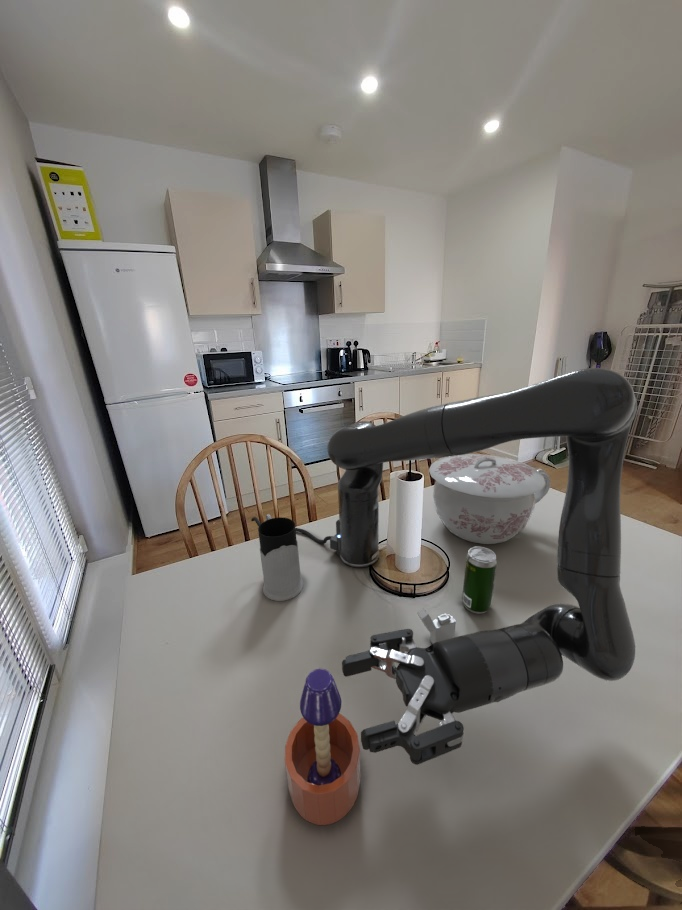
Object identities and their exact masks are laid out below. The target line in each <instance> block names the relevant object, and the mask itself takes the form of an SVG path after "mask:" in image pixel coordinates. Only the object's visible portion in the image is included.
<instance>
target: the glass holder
mask: <svg viewBox="0 0 682 910" xmlns="http://www.w3.org/2000/svg"><path fill="white" fill-rule="evenodd" d="M295 528H296V523H295V521H294V520H292V519H291V518H288V517H272V515H270V513H268V514H266V515H265V520H264V521H263V522H261V524H260V526H258V528H257V532H258V540H259V554H260V562H261V569H262V576H263V577H262V578H263V586H262V592H263V594H264V596H265V597H266V598H267V599H268V600H272V601H277V602H284V601H289V600H291V599H293V598H295V597H297V596H298V595H299V594H300V593H301V592H302V590H303V588H304V579H303V578H302V577H301V575H302V574H301V565H300V556H299V543H298V540H297V532H296V529H295Z"/></svg>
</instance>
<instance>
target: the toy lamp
mask: <svg viewBox="0 0 682 910" xmlns="http://www.w3.org/2000/svg"><path fill="white" fill-rule="evenodd" d="M341 709H342V697H341V694H340V691H339V689H338V686H337V683H336V681H335V678H334V676H333V675H332V673H331V672H330V671H329V670H327V669H325V668H315V669H314V670H312V671H310V672H309V673H308V675H307V676H306V679H305V682H304V685H303V689H302V693H301V696H300V702H299V710H300V714H301V716H302V718H304V719H305V720H306V721H307V722H308V723H310V724H312V725H314V734H315V739H314V740H315V745H316V746H315V751H316V761H315V762H314V763H313V764H312V766H311V767H310V770H309V773H308V779H307V782H309V783H312V784H315V785H324V784H329V783H332V782H334V781H335V780H336V779H338V778H339V777H341V771H340V768H339V766H338V764H337V763H336V762H335V761H334V760H333V759H332V758H331V754H330V743H329V741H330V736H329V725H328V724H329V723H331V722H332V721H333V720H335V719H336V718H337V716H338V714H339V713H341Z"/></svg>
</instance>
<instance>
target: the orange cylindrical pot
mask: <svg viewBox="0 0 682 910" xmlns="http://www.w3.org/2000/svg"><path fill="white" fill-rule="evenodd" d="M328 725H329V736H330V741H329V743H330V754H331V758H332V759H333V760H334V761H335V762H336V763H337V764H338V766H339V768H340V771H341V777H339V778H338V779H336V780H335V781H334V782H332V783H329V784H324V785H315V784H312V783H309V782H307V779H308V773H309V770H310V767H311V766H312V764H313V763H314V762H315V761H316V751H315V746H316V745H315V740H314V739H315V734H314V725H312V724H310V723H308V722H307V721H306V720H305V719H304V718H303V717H302V718H300V719H299V720H298V721H297V723H296V724H295V725H294V726H293V728H292V729H291V730H290V732H289V735H288V737H287V740H286V744H285V745H284V746H285V747H284V764H285V772H286V779H287V786H288V793H289V796H290V799H291V802H292V804H293V806H294V808H295V810H296V812H297V813H298V814H299V815H300V817H301V818H302V819H304V820H305V821H307V822H308V823H310V824H313V825H318V826H326V825H327V826H328V825H331V824H334V823H337V822H339V821H340V820H342V819H343V818H344V817H345V816H347V814H348V813H349V812H350V811H351V809H352V808H353V807H354V805H355V802H356V800H357V798H358V795H359V791H360V784H361V749H360V742H359V737H358V736H359V735H358V732H357V731H356V729H355V728H354V726H353V724H352V722H351V721H350V720H349V719H348V718H346V717H345V716H344V715H342V714H341V712H339V714H338V716H337V718H336V719H335V720H333V721H332V722H331V723H329V724H328Z"/></svg>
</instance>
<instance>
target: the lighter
mask: <svg viewBox="0 0 682 910" xmlns="http://www.w3.org/2000/svg"><path fill="white" fill-rule="evenodd" d="M416 614H417V615H418V617H419V619H420V620H421V622H422V624H423V625H424V627H425V628H426V629H427V631H428V632H429V633H430V634H429V642H430V643H431V645H432V644H433V643H435V642H438V641H442V640H446V639H451V638H455V633H456V624H457V619H455V618H454V616H453V615H452V614H451V613H450V614H448V613H442V614H440V615H438V616H437V618H435V619H432V618H431V616H430V614H429V613H428V612H427V610H426V609H425V608H424V607H423V608H421V609H420V610H418V611H417V613H416Z"/></svg>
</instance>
